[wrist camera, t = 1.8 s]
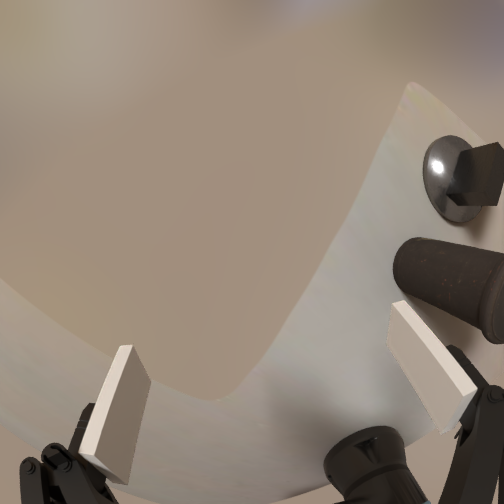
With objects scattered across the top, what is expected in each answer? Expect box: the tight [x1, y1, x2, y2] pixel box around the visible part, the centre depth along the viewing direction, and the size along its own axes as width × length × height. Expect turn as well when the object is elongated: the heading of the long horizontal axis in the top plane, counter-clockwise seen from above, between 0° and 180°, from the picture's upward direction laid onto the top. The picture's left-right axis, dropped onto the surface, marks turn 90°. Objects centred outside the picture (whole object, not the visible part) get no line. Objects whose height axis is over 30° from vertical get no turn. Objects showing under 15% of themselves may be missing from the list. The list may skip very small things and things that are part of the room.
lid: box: [423, 135, 504, 222], centre depth 30 cm, size 13×13×10 cm
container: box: [393, 237, 504, 344], centre depth 26 cm, size 9×9×20 cm
